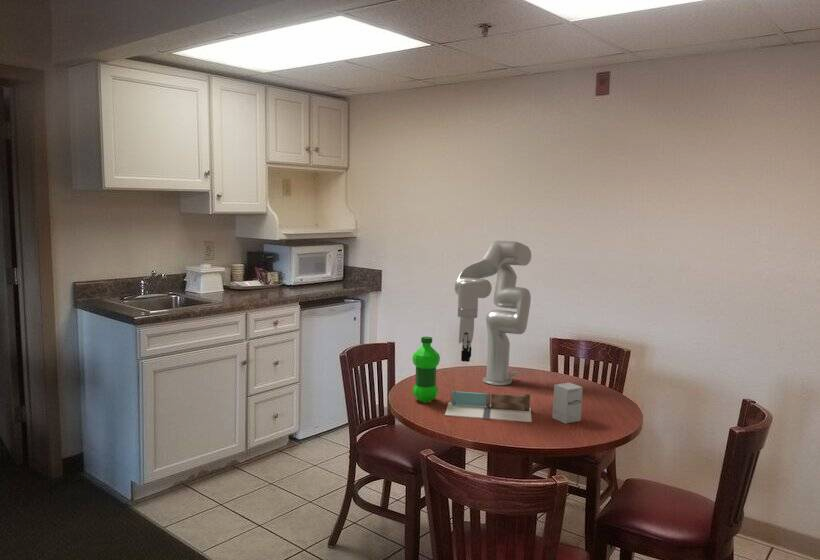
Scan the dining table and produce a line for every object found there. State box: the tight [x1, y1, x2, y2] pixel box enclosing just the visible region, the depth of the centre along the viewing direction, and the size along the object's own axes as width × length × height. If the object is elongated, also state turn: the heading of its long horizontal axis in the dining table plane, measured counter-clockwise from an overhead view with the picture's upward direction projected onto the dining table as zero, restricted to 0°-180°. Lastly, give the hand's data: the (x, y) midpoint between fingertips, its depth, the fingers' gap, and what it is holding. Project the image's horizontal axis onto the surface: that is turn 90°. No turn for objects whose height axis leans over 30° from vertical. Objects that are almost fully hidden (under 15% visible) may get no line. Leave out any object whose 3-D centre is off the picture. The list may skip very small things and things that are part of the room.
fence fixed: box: [490, 393, 531, 411], centre depth 230 cm, size 14×2×6 cm, turn 80°
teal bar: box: [450, 390, 491, 407], centre depth 233 cm, size 15×2×5 cm, turn 80°
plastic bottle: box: [412, 336, 441, 403], centre depth 239 cm, size 10×10×25 cm
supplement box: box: [551, 382, 584, 424], centre depth 221 cm, size 7×7×13 cm
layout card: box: [444, 401, 533, 423], centre depth 227 cm, size 31×16×1 cm, turn 80°
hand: (466, 358), depth 235 cm, fingers open, 6 cm apart
